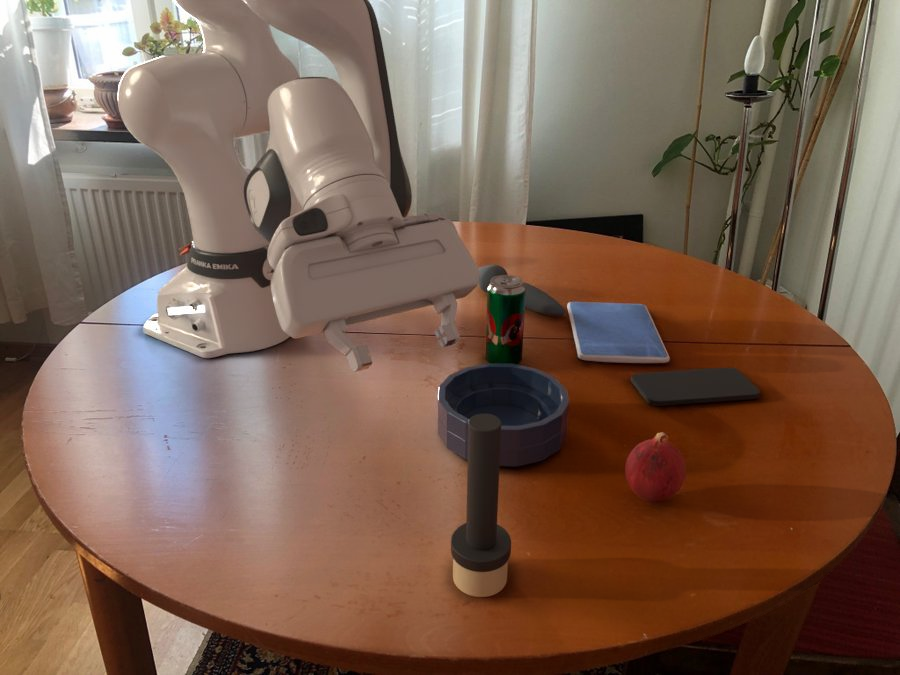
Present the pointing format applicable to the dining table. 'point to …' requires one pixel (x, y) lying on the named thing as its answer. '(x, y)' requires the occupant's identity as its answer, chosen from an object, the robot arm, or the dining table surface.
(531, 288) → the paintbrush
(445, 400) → the bowl
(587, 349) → the tablet
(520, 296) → the soda can
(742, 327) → the dining table surface
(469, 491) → the dish brush
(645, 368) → the dining table surface
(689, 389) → the phone
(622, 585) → the dining table surface
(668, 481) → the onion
